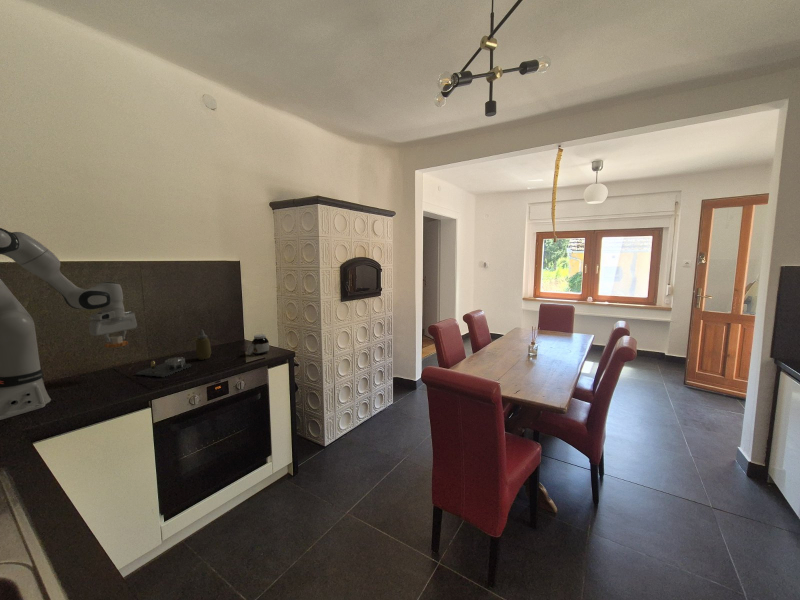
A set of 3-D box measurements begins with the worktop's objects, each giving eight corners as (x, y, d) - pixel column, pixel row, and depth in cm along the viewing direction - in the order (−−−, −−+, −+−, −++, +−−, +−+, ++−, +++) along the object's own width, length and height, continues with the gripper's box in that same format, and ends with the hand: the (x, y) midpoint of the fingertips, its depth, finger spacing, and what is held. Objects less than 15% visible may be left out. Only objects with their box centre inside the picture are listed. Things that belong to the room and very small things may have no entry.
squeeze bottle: (193, 359, 195) (191, 329, 193) (208, 355, 201) (205, 327, 199) (200, 361, 190) (197, 331, 188) (214, 358, 197) (212, 329, 195)
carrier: (163, 377, 164) (162, 365, 163) (136, 375, 168) (135, 362, 167) (191, 366, 181) (190, 355, 180) (166, 364, 184) (165, 353, 183)
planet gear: (114, 348, 160) (113, 339, 159) (99, 347, 162) (99, 338, 161) (132, 343, 168) (131, 335, 168) (119, 343, 170) (118, 334, 170)
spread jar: (271, 352, 209) (270, 334, 207) (257, 357, 198) (256, 338, 197) (257, 350, 213) (256, 333, 212) (243, 355, 203) (242, 336, 202)
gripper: (129, 310, 174) (131, 335, 175) (85, 316, 154) (88, 345, 156) (139, 311, 172) (141, 336, 174) (95, 317, 153) (98, 345, 154)
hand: (116, 340), depth 165 cm, fingers closed on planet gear, 5 cm apart
